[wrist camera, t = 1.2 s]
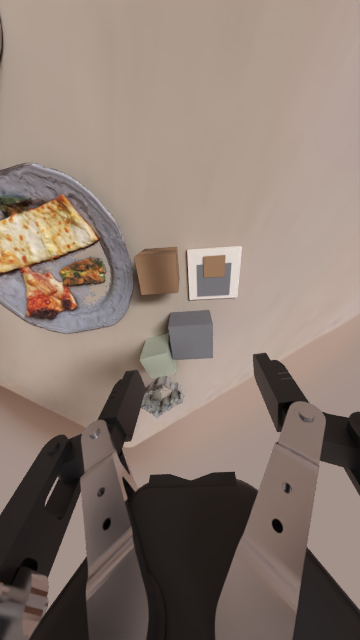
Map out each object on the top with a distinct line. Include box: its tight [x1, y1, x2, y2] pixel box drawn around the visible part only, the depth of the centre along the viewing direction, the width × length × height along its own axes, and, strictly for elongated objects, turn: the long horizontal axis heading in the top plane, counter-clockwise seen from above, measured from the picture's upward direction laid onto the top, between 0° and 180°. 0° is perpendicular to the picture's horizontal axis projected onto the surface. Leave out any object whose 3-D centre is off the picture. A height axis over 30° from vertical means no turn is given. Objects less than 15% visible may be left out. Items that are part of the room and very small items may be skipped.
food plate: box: [0, 163, 133, 334], centre depth 27 cm, size 25×23×4 cm
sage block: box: [139, 333, 177, 379], centre depth 34 cm, size 5×5×6 cm
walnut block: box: [134, 247, 180, 295], centre depth 25 cm, size 5×5×6 cm
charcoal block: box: [168, 310, 213, 360], centre depth 32 cm, size 7×7×5 cm
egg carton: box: [141, 376, 185, 418], centre depth 42 cm, size 11×8×4 cm
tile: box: [187, 246, 242, 300], centre depth 28 cm, size 8×8×1 cm
